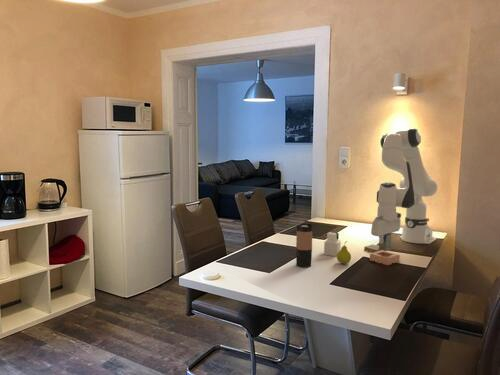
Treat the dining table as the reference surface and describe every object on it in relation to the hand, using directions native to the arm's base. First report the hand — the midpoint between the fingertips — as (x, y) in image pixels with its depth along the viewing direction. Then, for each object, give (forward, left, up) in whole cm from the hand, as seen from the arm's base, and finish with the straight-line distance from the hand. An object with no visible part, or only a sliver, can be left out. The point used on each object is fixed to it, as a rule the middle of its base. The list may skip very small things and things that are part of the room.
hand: (385, 242), depth 204 cm
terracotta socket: (0, 0, -10) cm, 10 cm away
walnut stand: (-12, -14, -10) cm, 21 cm away
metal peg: (0, 0, -4) cm, 4 cm away
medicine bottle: (+12, -24, -10) cm, 29 cm away
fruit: (+20, -10, -10) cm, 24 cm away
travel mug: (+38, -20, -10) cm, 44 cm away
